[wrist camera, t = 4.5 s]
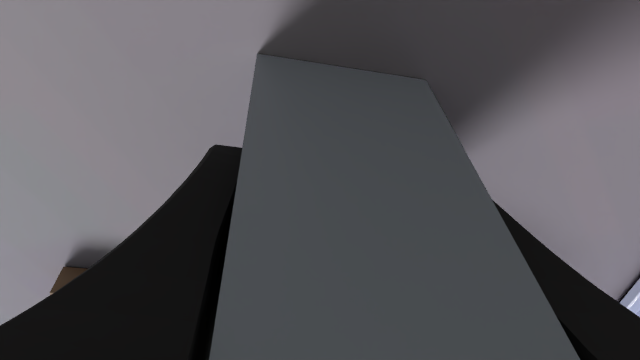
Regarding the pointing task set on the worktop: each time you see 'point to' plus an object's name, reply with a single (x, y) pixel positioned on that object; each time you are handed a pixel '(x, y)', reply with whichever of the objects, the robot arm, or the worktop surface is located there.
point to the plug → (368, 232)
